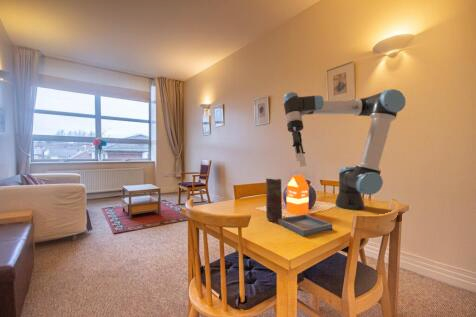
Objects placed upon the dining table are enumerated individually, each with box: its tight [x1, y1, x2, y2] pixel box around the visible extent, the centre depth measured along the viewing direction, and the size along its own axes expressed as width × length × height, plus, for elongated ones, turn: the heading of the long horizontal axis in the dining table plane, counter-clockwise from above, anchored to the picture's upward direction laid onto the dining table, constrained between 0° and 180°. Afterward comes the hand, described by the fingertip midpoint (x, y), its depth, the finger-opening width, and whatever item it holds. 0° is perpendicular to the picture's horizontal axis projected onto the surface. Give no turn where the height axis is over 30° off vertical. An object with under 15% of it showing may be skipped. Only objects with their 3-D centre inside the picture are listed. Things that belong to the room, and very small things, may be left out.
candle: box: [265, 178, 283, 223], centre depth 107 cm, size 8×7×20 cm
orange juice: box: [286, 174, 310, 216], centre depth 119 cm, size 8×9×20 cm
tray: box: [277, 213, 333, 237], centre depth 98 cm, size 16×16×2 cm
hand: (301, 163), depth 106 cm, fingers open, 13 cm apart
